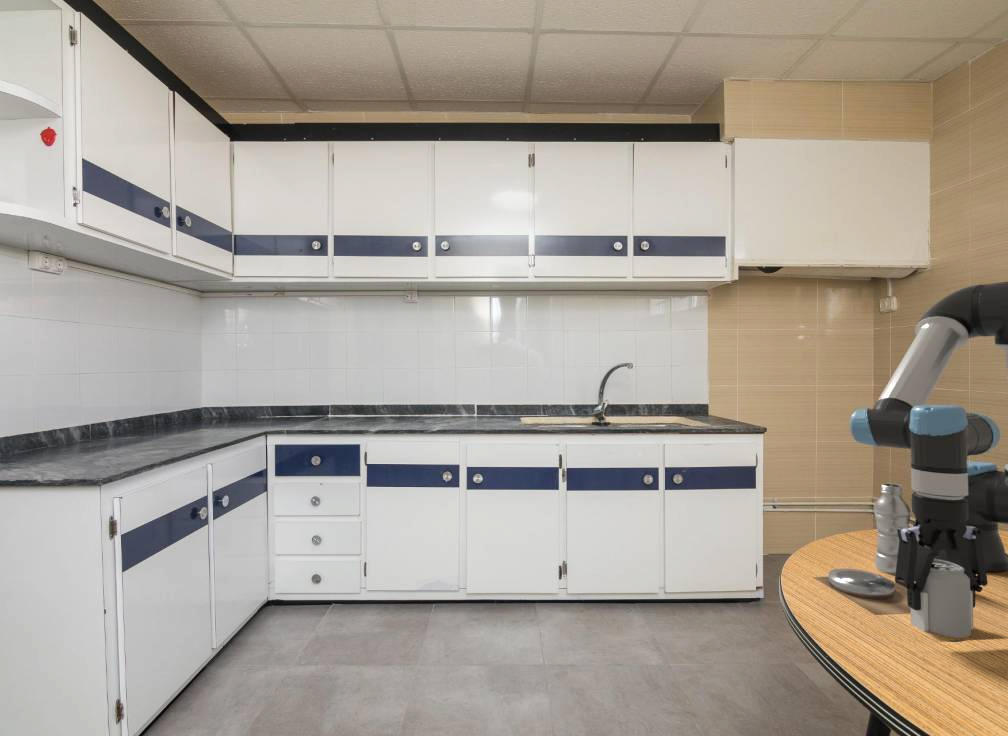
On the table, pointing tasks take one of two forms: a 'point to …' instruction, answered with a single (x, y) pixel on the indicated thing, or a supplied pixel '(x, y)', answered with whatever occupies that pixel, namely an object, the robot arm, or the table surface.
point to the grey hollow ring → (861, 584)
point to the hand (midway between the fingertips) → (941, 626)
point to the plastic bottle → (889, 526)
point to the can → (948, 600)
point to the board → (879, 606)
